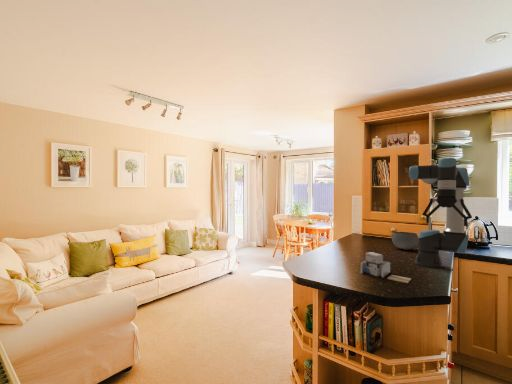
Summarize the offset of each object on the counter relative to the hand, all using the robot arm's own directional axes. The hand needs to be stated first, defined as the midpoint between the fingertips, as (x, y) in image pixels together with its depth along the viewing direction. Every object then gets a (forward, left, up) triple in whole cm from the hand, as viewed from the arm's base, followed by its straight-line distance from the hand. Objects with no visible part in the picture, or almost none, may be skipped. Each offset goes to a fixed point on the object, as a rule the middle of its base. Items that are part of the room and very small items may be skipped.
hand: (445, 231), depth 135 cm
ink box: (+1, -34, -28) cm, 44 cm away
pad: (+2, -20, -28) cm, 35 cm away
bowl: (-99, -37, -28) cm, 110 cm away
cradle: (-2, -34, -28) cm, 44 cm away
